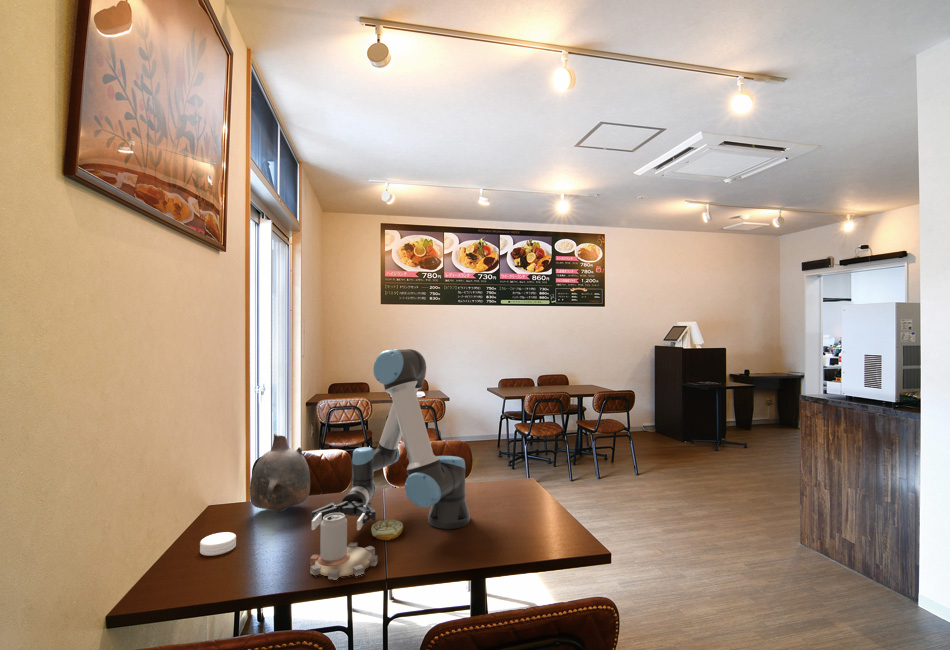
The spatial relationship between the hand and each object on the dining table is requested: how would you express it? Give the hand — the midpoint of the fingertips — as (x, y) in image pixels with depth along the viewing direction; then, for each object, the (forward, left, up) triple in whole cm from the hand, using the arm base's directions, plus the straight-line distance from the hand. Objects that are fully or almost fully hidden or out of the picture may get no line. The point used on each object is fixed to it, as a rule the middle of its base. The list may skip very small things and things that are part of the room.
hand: (335, 525), depth 135 cm
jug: (+35, -39, -10) cm, 54 cm away
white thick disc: (+40, -7, -11) cm, 42 cm away
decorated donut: (-11, -19, -11) cm, 25 cm away
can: (0, +2, -9) cm, 9 cm away
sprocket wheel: (-3, +2, -10) cm, 11 cm away
